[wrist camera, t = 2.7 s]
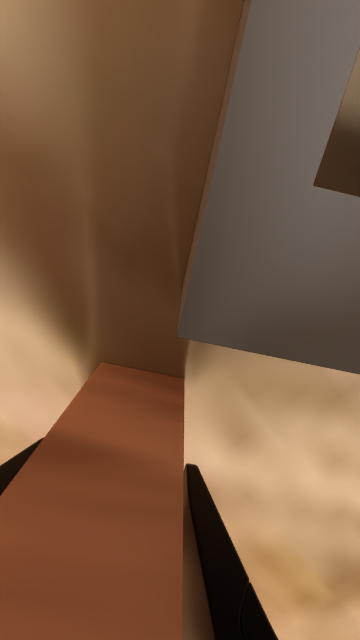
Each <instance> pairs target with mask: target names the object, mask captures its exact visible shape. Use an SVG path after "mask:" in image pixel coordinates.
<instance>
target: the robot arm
mask: <svg viewBox="0 0 360 640" xmlns="http://www.w3.org/2000/svg"><path fill="white" fill-rule="evenodd" d="M43 439H44V438H41V439H40V440H38V441H37V442H35V443H34V444H32V445H31V446H29V447H28V448H26V449H25V450H23V451H22V452H20V453H19V454H17V455H16V456H14V457H13V458H11V459H10V460H8V461H7V462H5V463H4V464H2V465H1V466H0V496H1V495H2V493H3V492H4V491H5V489H6V488H7V487H8V485H9V484H10V483H11V481H12V480H13V479H14V477H15V476H16V475H17V473H18V472H19V471H20V469H21V468H22V467H23V465H24V464H25V463H26V461H27V460H28V459H29V457H30V456H31V455H32V453H33V452H34V451H35V449H36V448H37V447H38V445H39V444H40V443H41V441H42V440H43ZM182 640H278V638H277V636H276V634H275V632H274V630H273V628H272V626H271V624H270V622H269V620H268V618H267V616H266V614H265V612H264V610H263V608H262V605H261V603H260V601H259V599H258V597H257V595H256V593H255V590H254V588H253V586H252V584H251V583H250V582H249V577H248V575H247V573H246V571H245V569H244V567H243V564H242V562H241V560H240V558H239V556H238V553H237V551H236V549H235V547H234V545H233V543H232V540H231V538H230V536H229V534H228V532H227V529H226V527H225V525H224V523H223V521H222V519H221V516H220V514H219V512H218V510H217V508H216V505H215V503H214V501H213V499H212V497H211V495H210V492H209V490H208V488H207V486H206V484H205V482H204V479H203V477H202V475H201V473H200V471H199V468H198V467H197V465H194V464H189V463H187V464H186V465H185V469H184V474H183V569H182Z"/></svg>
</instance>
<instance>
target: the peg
mask: <svg viewBox="0 0 360 640" xmlns="http://www.w3.org/2000/svg"><path fill="white" fill-rule="evenodd" d="M183 474H184V378H179V377H174V376H169V375H164V374H159V373H154V372H148V371H143V370H138V369H133V368H128V367H123V366H118V365H113V364H108V363H103V362H101V363H100V364H99V366H98V367H97V368H96V370H95V371H94V372H93V374H92V375H91V376H90V378H89V379H88V380H87V382H86V383H85V384H84V386H83V387H82V388H81V390H80V391H79V392H78V394H77V395H76V396H75V398H74V399H73V400H72V402H71V403H70V404H69V406H68V407H67V408H66V410H65V411H64V412H63V414H62V415H61V416H60V418H59V419H58V420H57V422H56V423H55V424H54V426H53V427H52V428H51V429H50V431H49V432H48V433H47V435H46V436H45V437H44V439H43V440H42V441H41V443H40V444H39V445H38V447H37V448H36V449H35V451H34V452H33V453H32V455H31V456H30V457H29V459H28V460H27V461H26V463H25V464H24V465H23V467H22V468H21V469H20V471H19V472H18V473H17V475H16V476H15V477H14V479H13V480H12V481H11V483H10V484H9V485H8V487H7V488H6V489H5V491H4V492H3V493H2V495H1V496H0V640H182V569H183Z"/></svg>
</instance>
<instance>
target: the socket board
mask: <svg viewBox="0 0 360 640" xmlns="http://www.w3.org/2000/svg"><path fill="white" fill-rule="evenodd" d="M359 49H360V0H244V3H243V7H242V12H241V17H240V22H239V26H238V31H237V36H236V40H235V45H234V50H233V54H232V59H231V64H230V68H229V73H228V78H227V82H226V87H225V92H224V96H223V101H222V106H221V110H220V115H219V120H218V124H217V129H216V134H215V138H214V143H213V148H212V152H211V157H210V162H209V166H208V171H207V176H206V180H205V185H204V190H203V194H202V199H201V204H200V208H199V213H198V218H197V222H196V227H195V232H194V236H193V241H192V246H191V250H190V255H189V260H188V264H187V269H186V274H185V278H184V283H183V288H182V292H181V302H180V312H179V322H178V331H177V337H179V338H184V339H189V340H194V341H199V342H204V343H209V344H214V345H219V346H223V347H228V348H233V349H238V350H243V351H248V352H253V353H258V354H262V355H267V356H272V357H277V358H282V359H287V360H292V361H297V362H302V363H306V364H311V365H316V366H321V367H326V368H331V369H336V370H341V371H346V372H350V373H355V374H360V197H358V196H354V195H350V194H345V193H341V192H337V191H333V190H329V189H324V188H320V187H316V186H313V183H314V180H315V177H316V175H317V172H318V169H319V166H320V163H321V160H322V157H323V154H324V151H325V148H326V145H327V142H328V139H329V137H330V134H331V131H332V128H333V125H334V122H335V119H336V116H337V113H338V110H339V107H340V104H341V101H342V99H343V96H344V93H345V90H346V87H347V84H348V81H349V78H350V75H351V72H352V69H353V66H354V63H355V61H356V58H357V55H358V52H359Z"/></svg>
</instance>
